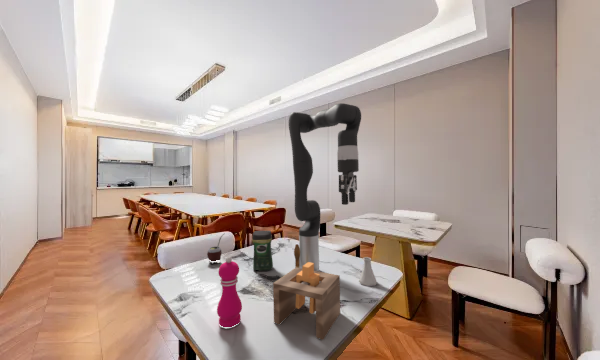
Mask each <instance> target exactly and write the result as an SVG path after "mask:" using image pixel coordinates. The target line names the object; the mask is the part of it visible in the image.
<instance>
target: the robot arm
mask: <svg viewBox="0 0 600 360" xmlns="http://www.w3.org/2000/svg"><path fill="white" fill-rule="evenodd" d="M361 122H362V112H361V109H360V107H359V106H357V105H355V104H354V105H353V104H348V103H336V104H335V105H333V106H331V107H330V108H325V109H322V110H319V112H317V113H316V114H309V113H304V112H297V111H294V112H291V113H290V114H289V116H288V130H289V131H288V132H289V136H290V137H289V138H290V143H291V144H290V145H291V152H292V166H293V167H292V168H293V178H294V214H295V217H296V218H297V220H298V221H299V222H304V223H303V225H302V226H300V227H299V228H298V229H299V230H298V242H299V243H298V245H299V248H300V258H299V268H302V266H303V265H305V264H306V263H308V262H311V263H314V271H319V272H320V249H319V248H320V246H319V245H320V244H319V241H320V240H319V231H320V228H321V207H320V204H319V203H318V202H317V201H316V200H314V199H312V200H308V188H309V185H310V182H311V179H312V177H313V174H314V166H313V158H312V156H311V154H310V152H309V150H308V148H307V147H306V146H305V145H304V142H303V139H302V135H301V134H307V133H310V132H312V131H315V130H318V129H321V128H327V127H328V128H329V127H331V128H332V127H335V126H337V125H339V124H342V125H346V127H345V129H343V130H340V131H338V133H337V154H336V155H337V172H338V173H341V174H338V193H340V194H341V205H349V203H355V202H356V192H357V190H358V181H357V177H358V176H357V175H356V174H354V173H357V172H359V171H360V170H359V149H358V134H359V131H360V127H361V126H360V125H361Z"/></svg>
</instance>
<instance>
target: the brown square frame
mask: <svg viewBox="0 0 600 360" xmlns="http://www.w3.org/2000/svg"><path fill="white" fill-rule="evenodd" d="M300 271H302V268H297V267H296V268H295V267H294V268H293V269H292V270H290V271H288V272H287V273H286V274H285V275H283V276H281V277H279V278H278V279H277V280H275V281H274V282H273V283H272V287H273V289H272V290H273V291H272V292H273V323H274V322H275V323H277V324H276V325H278V324H280V323H281V322H282V321H283V320H284V319H285V318H286V319H287V318H288V317H289V316H290V315H291V314H292V313H293V312H294V311H295V310H296V309H297V308H296V294H298V295H302V296H305V298H306V297H307V298H309V299H310V298H314V299H316V311H315V335H316V336H315V338H316V337H317V338H316V339H319V338H320V339H319V340H322V341H323V340H325V338H326V337H327V335H328V333H329V332H330V330H331V329H332V327H333V325H334V324H335V323H336V321H337V319H338V317H339V316H340V315H341V285H340V284H341V283H340V280H341V279H340V278H341V277H340V275H338V274H334V273H329V272H322V271H320V270H319V271H314V273H317V274H320V275H319V284H318V285H317V286H316V287H314V286H310V283H308V282H305V281H303V282H302V283H297V282H296V275H297V274H298V273H299V272H300ZM286 319H285V320H286ZM285 320H284V321H285ZM284 321H283V322H284ZM283 322H282V323H283ZM275 323H274V324H275ZM282 323H281V324H282ZM281 324H280V325H281Z"/></svg>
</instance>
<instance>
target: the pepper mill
mask: <svg viewBox="0 0 600 360" xmlns="http://www.w3.org/2000/svg"><path fill="white" fill-rule="evenodd" d="M218 268H219V269H218V275H219V278H220V279H219V280H220V285H221V288H222V289H221V291H222V293H221V297H220V298H219V302H218V303H217V309H216V314H217V316H218V317H219V318H218V325H219V324H220V325H221V326H223V327H232V326H234V325H236V324H238V323H239V322H240V323H241V321H240V320H241V316H242V315H241V312H242V309H243V304H242V301H241V298H240V296H239V294H238V291H237V283H238V281H239V280H238V275H239V273H240V267H239V264H238V263H237V262H235V261H233V260H232V256H226V258H225V262H223V263H221V264H220V266H219V267H218ZM240 323H239V324H240Z"/></svg>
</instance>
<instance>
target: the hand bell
mask: <svg viewBox="0 0 600 360" xmlns="http://www.w3.org/2000/svg"><path fill="white" fill-rule="evenodd" d="M293 249H294V250H293V254H294V259H295V262H294V266H295V267H294V269H295V268H296V267H297V268H299V258H300V248H299V243H298V244H295V246H294V248H293Z"/></svg>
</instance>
